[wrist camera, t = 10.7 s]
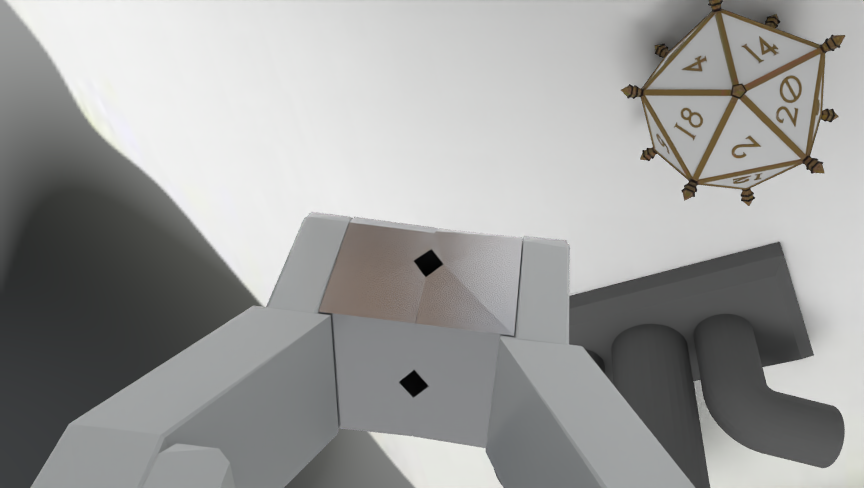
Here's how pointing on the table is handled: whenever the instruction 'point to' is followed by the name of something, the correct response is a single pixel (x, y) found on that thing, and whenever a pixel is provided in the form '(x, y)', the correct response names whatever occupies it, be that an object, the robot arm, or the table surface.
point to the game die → (736, 102)
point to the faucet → (709, 357)
